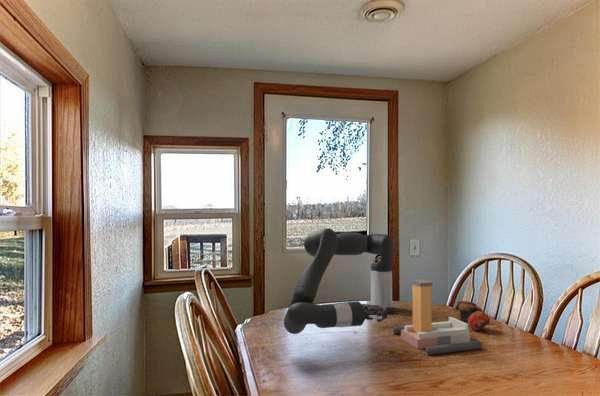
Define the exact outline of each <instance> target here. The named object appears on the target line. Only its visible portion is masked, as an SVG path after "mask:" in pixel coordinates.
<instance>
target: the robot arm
mask: <svg viewBox="0 0 600 396" xmlns="http://www.w3.org/2000/svg"><path fill="white" fill-rule="evenodd" d="M394 243H395V242H394V239H393V236H391V234H385V233H384V234H383V233H371V234H365V235H364V234H362V233H361V232H360V233H359V232H342V233H338V234H336V232H335V231H334V229H332V228H330V227H329V228H320V229H319V230H317V231H313V232H311V233H309V234H308V235H306V237H305V239H304V241H303V246H304V249H305V251H306V253H307V254H308V255H310V256H311V257H313V259H312V260H311V261H310V262H309V264H308V265H307V266H306V268H305V269H304V270H303V272H302V273H301V275H299V278H298V280H297V282H296V286H295V288H294V291H293V292H294V293H293V296H292V299H291V302H290V304H289V306H288V309H287V310H286V313H285V315H284V319H283V326H284V329H285V330H286V331H287V332H288V333H289V334H290V335H291V334H292V335H298V334H300V333H302V332H303V331H304V329H305V328H306V326H307V325H315V326H316V328H320V329H327V328H329V329H330V328H348V327H349V328H350V327H361V326H363V324H364V323H365V320H366V321H374V320H376V322H378V323H380V322H383V321H384V320H386V319H387V318H388V316H392V315H393V316H394V315H397V308H396V307H394V306H393V264H394V250H395V249H394V248H395V247H394V245H395V244H394ZM364 253H367V254H372V255H379V256H380V259H379V260H378V261H375V262H372V263H371V264H370V304H368V303H367V304H365V303H362V302H360V301H346V302H345V301H343V302H341V301H340V302H335V303H327V304H325V303H324V304H317V303H314V301H315V299H316V297H317V293H318V290H319V288H320V287H319V286H320V283H321V281H322V278H323V276H324V274H325V272H326V270H327V268H328V266H329V264H330V262H331V260H332V259H333V257H334V256H360V255H362V254H364Z"/></svg>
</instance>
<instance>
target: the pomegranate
mask: <svg viewBox="0 0 600 396" xmlns="http://www.w3.org/2000/svg"><path fill="white" fill-rule="evenodd" d="M469 312H470V313H471V315H470V317H469V318H468V322H467V324H469V327H470V329H472V330H474V331H475V332H478V331H479V330H482V329H485V330H486V331H487V332H488V333H489V334H490V333H491V332H490V331H489V330H488V329H487V328H486V326H487V325H489V324H490V321H491V318H490V315H489V314H488V313H486V312H484V311H483V310H482V311H476V312H475V313H473V312H471V311H469Z"/></svg>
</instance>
